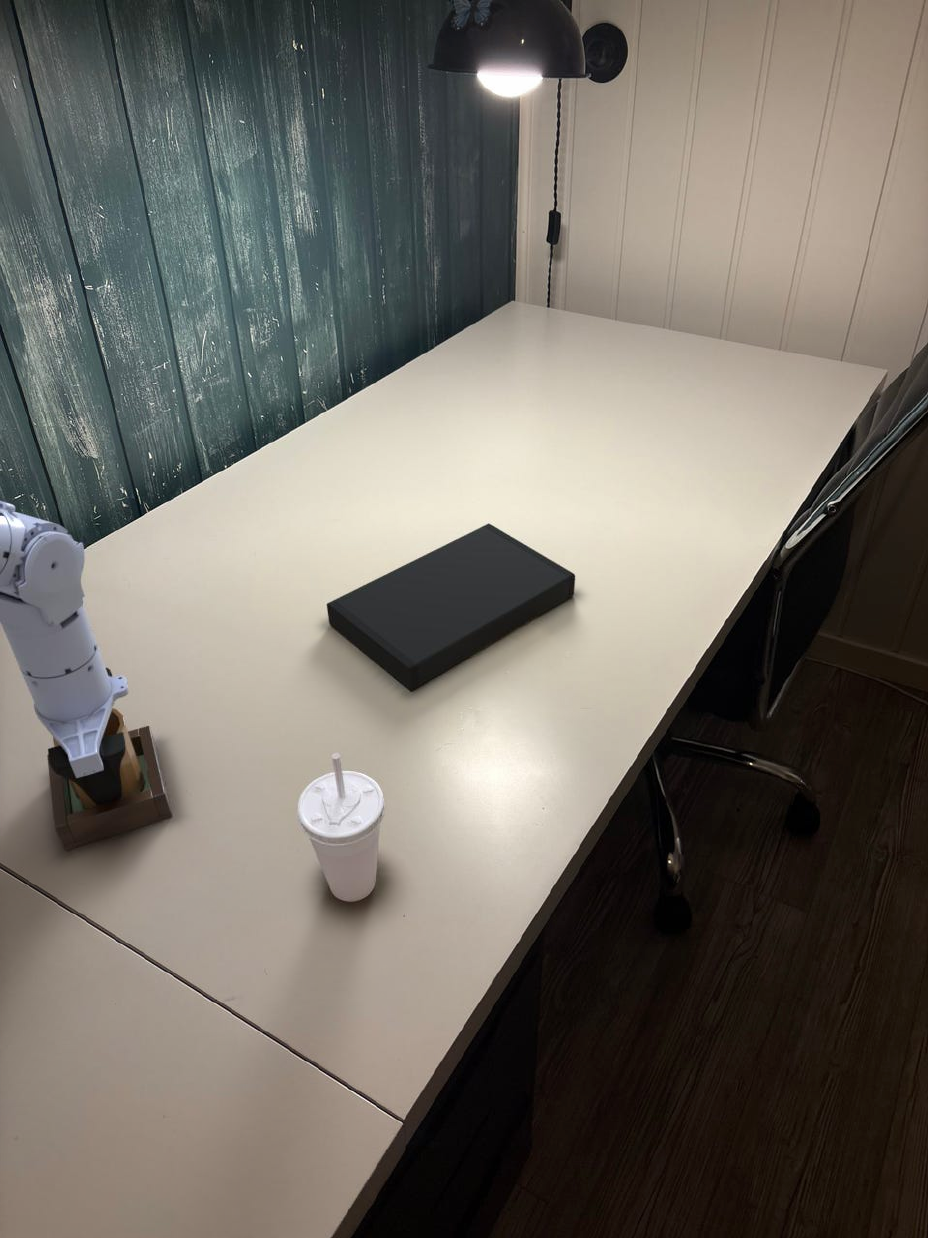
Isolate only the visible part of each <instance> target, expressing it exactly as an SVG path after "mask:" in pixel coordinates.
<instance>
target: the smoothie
mask: <svg viewBox="0 0 928 1238" xmlns="http://www.w3.org/2000/svg"><path fill="white" fill-rule="evenodd" d="M331 755H332V756H331V758H332V765H333V772H330V773H326V774H324V775H321V776H320V777H318V778H316V779H314V780H313V781H311V782H310V783H309V784H308V785H307V786H306V787H305V789H304V790H303V791H302V793H301V794H300V796H299V798H298V802H297V818H298V819H297V820H298V823H299V827H300V829H301V830H302V832H303V833H304V834H305V835H306V836H307V837H308V838H309V840H310V843H311V846H312V847H313V850H314V852H315V855H316V857H317V860H318V862H319V865H320V867H321V870H322V872H323V875H324V877H325V879H326V882H327V885H328V887H329V890H330V892H331V894H332V895H333V896H334V897H335V898H337V899H338V900H340V901H343V902H348V903H352V902H358V901H362V900H363V899H365V898H366V897H368V896H369V895H370V894H371V893H372V891H374V888H375V886H376V883H377V870H378V855H379V843H380V842H379V841H380V828H381V824H382V821H383V819H384V816H385V813H386V803H385V800H384V794H383V790H382V789H381V787H380V785H379V783H377V782H376V781H375V780H374V779H373V778H372V777H371V776H369V775H366V774H364V773H362V772H358V771H352V770H343V766H342V759H341V754H340V753H339V752H337V753H336V752H335V753H333V754H331Z"/></svg>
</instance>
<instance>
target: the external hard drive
mask: <svg viewBox="0 0 928 1238" xmlns="http://www.w3.org/2000/svg"><path fill="white" fill-rule="evenodd" d="M575 585H576V575H575V573H574V572H572V571H570V570H569V569H567V568H565V567H563V566H562V565H560V564H559V563H557V562H556V561H553V559H550V558H548V557H547V556H545V555H543V554H542V553H539V552H538V551H537V550H534V549H533V548H531V547H530V546H528V545H526V544H525V543H523V542H522V541H520V540H518V539H516V538H515V537H513V536H511V535H510V534H508V533H506V532H504V531H503V530H501V529H500V528H498V527H496V526H495V525H493V524H491V523H486V524H484V525H482V526H480V527H478V528H476V529H474V530H472V531H470V532H468V533H466V534H464V535H463V536H460V537H458V538H456V539H455V540H451V541H450V542H448V543H446V544H444V545H441V546H440V547H438V548H436V549H434V550H432V551H429V552H428V553H426V554H424V555H422V556H420V557H418V558H416V559H414V560H412V561H410V562H407V563H406V564H404V565H402V566H400V567H398V568H396V569H393V570H392V571H389V572H388V573H386V574H384V575H382V576H379V577H377V578H375V579H373V580H371V581H370V582H368V583H366V584H364V585H362V586H359V587H357V588H355V589H353V590H352V591H351V590H350V592H348V593H346V594H343V595H342V596H341V595H340V597H337V598H334V599H333V600H331V601H329V602H327V603H326V610H327V617H328V623H329V626H330V627H332V629H334V630H335V631H336V632H338V633H339V634H340V635H341V636H342V637H344V638H345V639H346V640H348V642H350V644H352V645H353V646H355V647H356V648H358V650H360V651H361V652H362V653H363V654H364V655H366V656H367V657H368V658H370V660H372V661H373V662H374V663H376V664H377V665H378V666H379V667H380V668H382V669H383V670H384V671H386V672H387V673H388V674H389V675H390V676H391V677H393V678H394V679H395V680H397V681H398V682H399V683H400V684H401V685H402V686H404V687H405V688H406V689H407V690H409V691H410V692H411V691H414V690H415V689H417V688H418V687H420V686H422V685H423V684H425V683H428V682H429V681H430V680H432V679H434V678H436V677H437V676H439V675H441V674H442V673H444V672H446V671H447V670H449V669H451V668H453V667H454V666H456V665H458V664H459V663H461V662H463V661H464V660H466V659H468V658H470V657H471V656H473V655H475V654H476V653H478V652H480V651H482V650H483V649H485V648H487V647H488V646H490V645H491V644H493V643H495V642H496V641H498V640H500V639H502V638H504V637H505V636H507V635H508V634H511V633H513V631H515V630H518V629H519V628H520V627H522V626H524V625H526V624H527V623H529V622H531V621H532V620H534V619H536V618H537V617H539V616H541V615H543V614H544V613H546V612H548V611H550V610H551V609H553V608H554V607H557V606H558V605H560V604H561V603H563V602H565V601H566V600H568V599H569V598H571V597H574V595H575V589H576V587H575Z"/></svg>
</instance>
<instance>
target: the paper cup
mask: <svg viewBox="0 0 928 1238" xmlns="http://www.w3.org/2000/svg"><path fill="white" fill-rule="evenodd" d="M129 731H130V730H129V728H128V725H127V722H126V720H125V717H124V715H123V714H122V713H121V712H120V711H119V710H118V709H117V708H114V707H113V708H112V711H111V714H110V717H109V720H108V723H107V726H106V728H105V731H104V734H103V737H107V736H110V735H114V734H117V733H121V732H123V733H124V738H125V743H126V749H125V755H124V757H123V759H122V761H121V766H120V776H121V783H122V797H121V798H124V797H128V796H131V795H134V794H137V793H139V792H140V790H141V788H142V786H143V783H144V776H143V772H142V768H141V765H140V762H139V760H138V757H137V754H136V751H135V748H134V745H133V742H132V740H131V737H130V734H129ZM103 737H102V738H103ZM52 742H53V747H56V746H59V745H60V744H59V743H58V742H57V741H56V740H55V738H54V737H53V736H52ZM69 781H70V784H71V786H72V788H73V791H74V793H75V795H76V798H77V799H78V801H79V802H80V804H81V805H82V806H83V807H85V808H87V809H89V808H92V807H95V806H99V805H96V804H95V803H94V802H93V801H92V800H91V799H90V798H89V797H88V796H87V795H86V793H85V792H84V791H83V790H82V789H81V788H80V787H79V786H78V785H77V784H76V783H74V782H73V781H71V780H70V779H69ZM121 798H120V799H121ZM117 800H118V799H117ZM114 801H115V800H114ZM110 802H111V801H110ZM107 803H108V802H107ZM104 804H105V803H104ZM101 805H102V804H101Z"/></svg>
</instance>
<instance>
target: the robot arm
mask: <svg viewBox="0 0 928 1238" xmlns="http://www.w3.org/2000/svg"><path fill="white" fill-rule="evenodd" d="M85 559H86V555H85V548H84V544H83V542H78V541H75V540H74V537H73V536H72V534H69V531H68V530H67V528H65V527H64V526H62V525H61V524H58V523H56V522H51V521H48V520H46V519H45V520H44V519H41V518H38V517H35V516H31V515H27V514H24V513H21V512H16V506H15V505H14V504H12V503H9V502H7V501H2V500H0V625H1V628H2V629H3V632H4V635H5V637H6V639H7V641H8V644H9V646H10V649H11V651H12V653H13V655H14V658H15V661H16V662H17V665H18V668H19V670H20V672H21V675H22V676H23V680H24V681H25V684H26V687H27V689H28V691H29V693H30V695H31V699H32V700H33V708H34V712H35V715H36V717H37V719H38V721H40V723H41V724H42V726H44V728H45V729H46V731H48V733H49V734H50V735H51V736H52V738H53V737H54V738H55V740H56V741H57V742H58V743H59V744H60V745H59V746H56V747H55V746H53V747H49V748H48V749H47V755H48V756H49V763H50V766H51V768H52V769H53V771H54V772H55V773H56V774H57V775H60V776H63V777H66V778H68V779H70V780H71V781H73V782H74V783H76V784H77V785H78V786H79V787H80V788H81V789H82V790H83V791H84V792H85V793H86V795H87V796H88V797H89V798H90V799H91V800H92V801H93V802H94V803H95V804H96V805H101V804H104V803H107V802H110V801H114V800H117V799H120V798H121V797H122V783H121V776H120V766H121V761H122V759H123V757H124V755H125V749H126V743H125V738H124V733H123V732H121V733H117V734H114V735H110V736H107V737H103V734H104V731H105V728H106V726H107V723H108V720H109V717H110V714H111V711H112V708H114V705H115V702H116V701H117V700H118V699H121V698H124V697H126V696H128V694H129V693H130V689H129V686H128V681H127V678H126V677H125V675H122V674H120V675H115V676H113V672H112V671H111V669H110V668H109V667H106V665H105V662H104V660H103V656H102V654H101V651H100V648H99V645H98V643H97V640H96V637H95V633H94V630H93V628H92V626H91V622H90V620H89V616H88V614H87V611H86V608H85V606H84V598H85V596H86V595H85V592H84V589H83V585H82V575H83V572H84V566H85ZM102 737H103V738H102Z"/></svg>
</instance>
